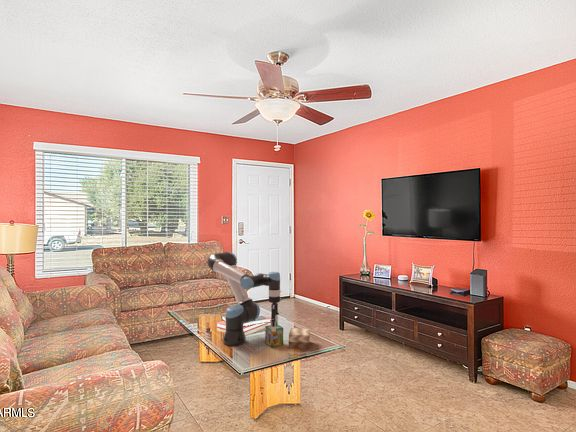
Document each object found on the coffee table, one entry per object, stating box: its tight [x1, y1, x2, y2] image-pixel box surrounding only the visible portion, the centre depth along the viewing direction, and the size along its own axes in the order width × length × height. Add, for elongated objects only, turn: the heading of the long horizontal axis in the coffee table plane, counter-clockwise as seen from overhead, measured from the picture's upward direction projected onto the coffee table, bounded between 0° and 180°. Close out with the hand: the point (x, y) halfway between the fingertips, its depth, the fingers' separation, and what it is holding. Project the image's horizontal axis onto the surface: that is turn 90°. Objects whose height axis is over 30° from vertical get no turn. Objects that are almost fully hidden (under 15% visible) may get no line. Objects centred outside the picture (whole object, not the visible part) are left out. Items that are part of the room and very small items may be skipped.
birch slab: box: [288, 327, 311, 344], centre depth 232 cm, size 13×13×4 cm
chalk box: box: [264, 321, 284, 348], centre depth 233 cm, size 9×9×15 cm
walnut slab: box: [288, 341, 310, 350], centre depth 232 cm, size 13×13×4 cm
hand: (274, 328), depth 233 cm, fingers open, 13 cm apart
